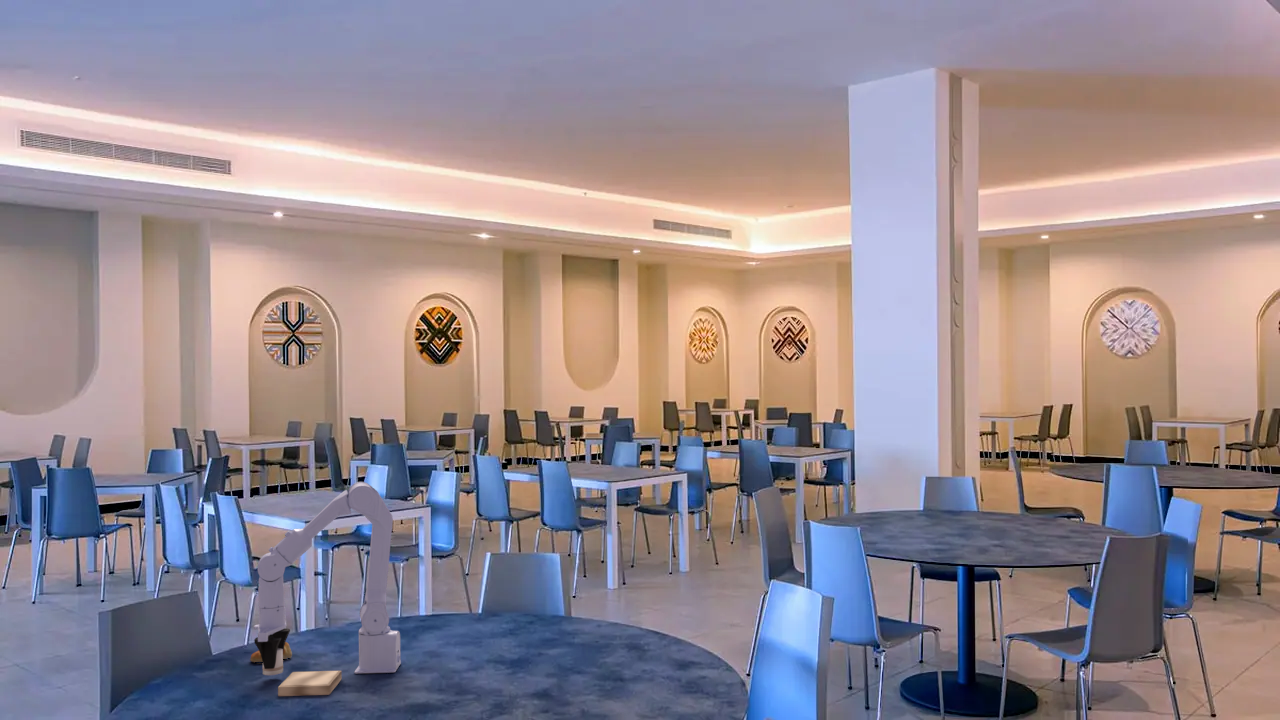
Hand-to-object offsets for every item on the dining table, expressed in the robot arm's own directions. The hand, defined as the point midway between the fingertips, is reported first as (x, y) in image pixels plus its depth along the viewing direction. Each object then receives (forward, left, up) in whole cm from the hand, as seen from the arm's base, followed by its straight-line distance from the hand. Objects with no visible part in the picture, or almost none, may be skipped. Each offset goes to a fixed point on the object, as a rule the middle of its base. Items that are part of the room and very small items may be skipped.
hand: (273, 665), depth 233 cm
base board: (-10, +7, -3) cm, 13 cm away
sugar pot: (0, 0, -2) cm, 2 cm away
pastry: (+5, -17, -4) cm, 18 cm away
